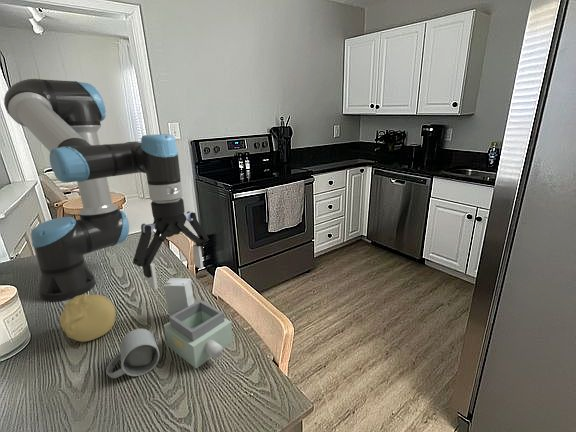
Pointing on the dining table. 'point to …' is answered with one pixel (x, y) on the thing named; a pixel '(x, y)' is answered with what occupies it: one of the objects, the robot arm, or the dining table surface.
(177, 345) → the green open box
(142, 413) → the dining table surface
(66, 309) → the sculpture
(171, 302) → the skincare box
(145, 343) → the ceramic mug
